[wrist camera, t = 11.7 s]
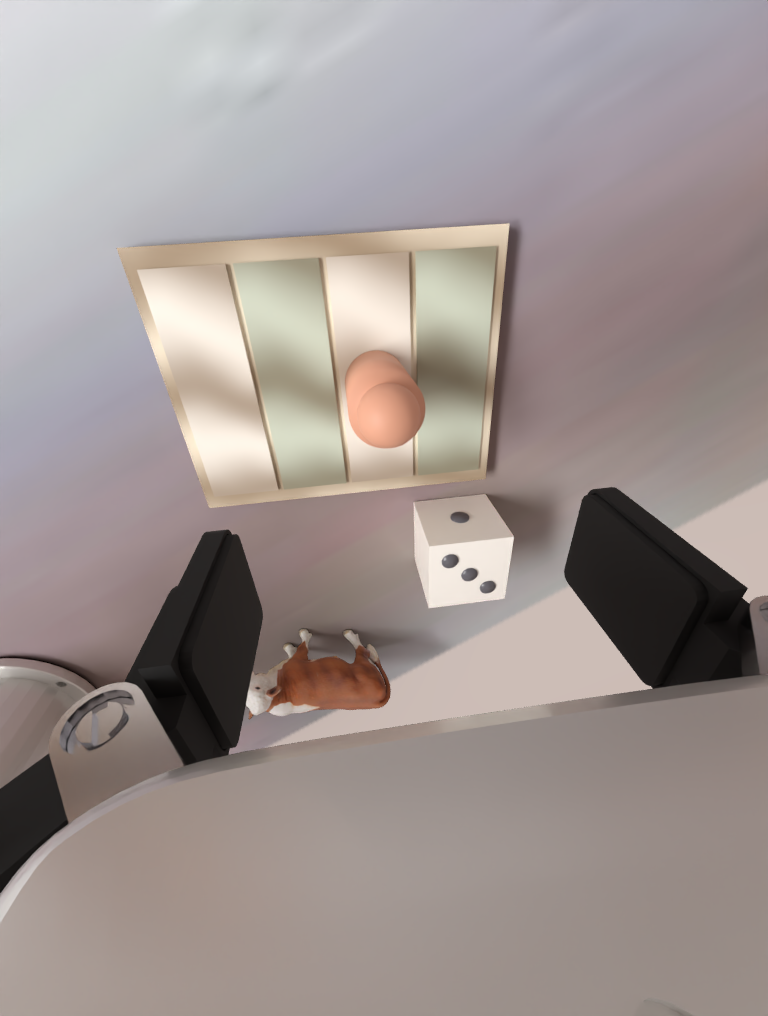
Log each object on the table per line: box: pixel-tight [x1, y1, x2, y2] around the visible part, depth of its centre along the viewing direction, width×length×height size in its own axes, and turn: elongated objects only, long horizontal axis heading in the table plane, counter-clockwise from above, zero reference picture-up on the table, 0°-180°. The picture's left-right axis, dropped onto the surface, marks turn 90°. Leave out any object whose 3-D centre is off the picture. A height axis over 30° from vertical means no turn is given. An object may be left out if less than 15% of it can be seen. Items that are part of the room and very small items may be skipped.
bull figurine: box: [246, 629, 390, 719], centre depth 35 cm, size 4×13×8 cm, turn 74°
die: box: [414, 494, 514, 608], centre depth 31 cm, size 6×6×6 cm
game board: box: [117, 224, 509, 508], centre depth 25 cm, size 16×21×1 cm
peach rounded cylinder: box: [345, 350, 425, 449], centre depth 21 cm, size 4×4×8 cm
